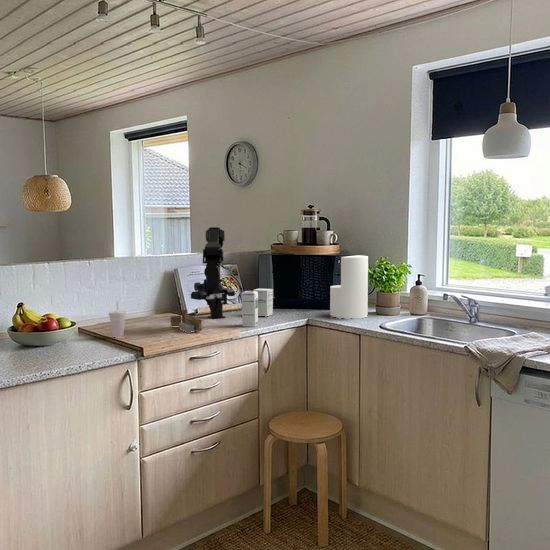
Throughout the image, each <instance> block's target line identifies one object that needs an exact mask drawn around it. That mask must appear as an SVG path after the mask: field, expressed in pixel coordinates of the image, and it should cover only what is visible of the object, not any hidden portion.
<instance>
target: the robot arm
mask: <svg viewBox="0 0 550 550" xmlns="http://www.w3.org/2000/svg"><path fill="white" fill-rule="evenodd" d="M225 234H226V233H225V230H223V229H221V228H220V227H218V226H210V227H208V229H206V230H205V242H207V243H206V244H205V246H204V248H203V249H202V251H203V252H202V264H206V265H205V267H204V270H203V273H204V276H205V279H203V283H201V282H199V281H198V282H195V283H194V284H193V289H194V291H192V292H191V293H190V300H191V299H193V300H197V301H198V300H199V301H201V300H202V301H203V300H205V302H206V305H207V306H208V307H209V312H210V315H207V318H211V319H213V320H215V319H224V318H226V316H225V315H224V314H223V313H224V311H223V310H224V308H223V305H224V306H225V305H228V297H236V295H235V294H236V293H235V289H234V288H227V287H224V285H223V284H222V283H223V279H221V264H223V262H224V255H225V254H224V250H223V248H222V247H223V246H224V242H225V241H226V240H225V239H226V235H225Z"/></svg>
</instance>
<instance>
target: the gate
mask: <svg viewBox="0 0 550 550" xmlns="http://www.w3.org/2000/svg"><path fill="white" fill-rule="evenodd" d="M185 322H187V323H190V324H192V325H194V331H196V332H199V333H200V331H201V332H203V327H202V323H203V320H202V319H201V318H198V317H195V316H193V315H190V314H187V315H185Z"/></svg>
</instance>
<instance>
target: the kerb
mask: <svg viewBox="0 0 550 550" xmlns="http://www.w3.org/2000/svg"><path fill="white" fill-rule="evenodd" d="M179 328H181V329H182V330H184V331H186V332H191V331H194V332H195V330H194V325H192V324H190V323H187V322H182V321H181V323H179ZM179 328H178V329H179ZM184 331H183V332H184ZM186 332H185V333H186Z"/></svg>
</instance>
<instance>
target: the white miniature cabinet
mask: <svg viewBox="0 0 550 550" xmlns="http://www.w3.org/2000/svg"><path fill="white" fill-rule="evenodd" d="M241 315H242V317H241V319H242V321H241V322H242V327H243V328H244V327H247V328H255V327H257V326H258V325H259V317H258V291H253V290H245V291H243V292H241Z"/></svg>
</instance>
